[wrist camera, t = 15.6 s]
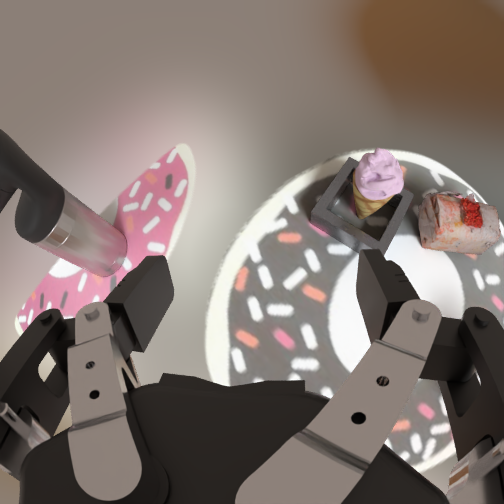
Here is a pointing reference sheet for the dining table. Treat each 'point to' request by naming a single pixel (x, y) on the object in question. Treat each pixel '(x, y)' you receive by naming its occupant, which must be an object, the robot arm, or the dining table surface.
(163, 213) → the dining table surface
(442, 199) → the food item
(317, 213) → the hollow square frame
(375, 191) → the ice cream cone
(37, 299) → the dining table surface
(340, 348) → the dining table surface
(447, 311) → the dining table surface
